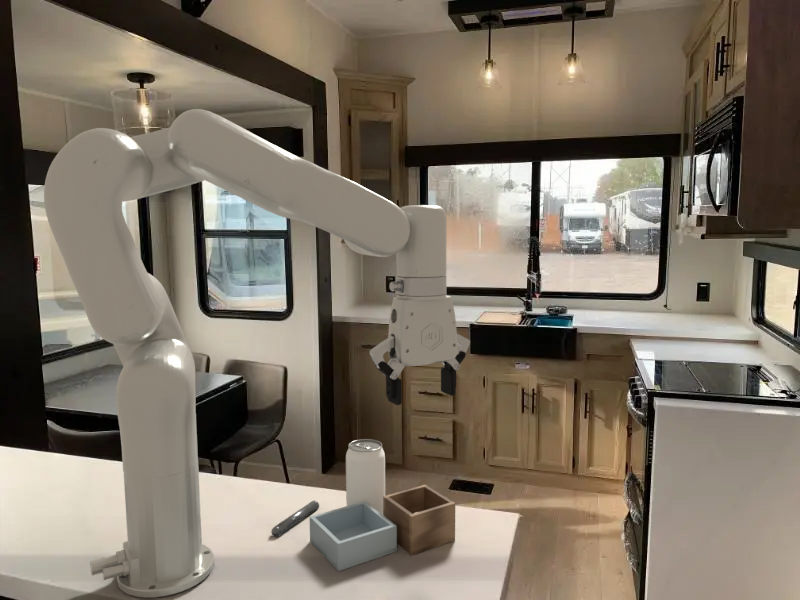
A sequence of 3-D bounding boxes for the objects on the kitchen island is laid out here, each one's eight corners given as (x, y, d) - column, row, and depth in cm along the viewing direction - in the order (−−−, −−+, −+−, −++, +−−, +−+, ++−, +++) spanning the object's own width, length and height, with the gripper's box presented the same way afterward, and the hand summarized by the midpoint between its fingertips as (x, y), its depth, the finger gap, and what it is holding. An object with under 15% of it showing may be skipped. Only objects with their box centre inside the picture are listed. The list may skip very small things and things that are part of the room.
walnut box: (411, 555, 88) (411, 516, 88) (383, 532, 95) (383, 496, 94) (455, 540, 93) (455, 503, 92) (425, 519, 99) (425, 484, 99)
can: (368, 527, 97) (367, 455, 96) (338, 515, 101) (337, 446, 99) (393, 512, 102) (392, 443, 101) (363, 501, 106) (363, 435, 104)
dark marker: (277, 539, 94) (277, 529, 93) (269, 537, 94) (269, 527, 94) (320, 509, 104) (320, 500, 104) (313, 507, 104) (313, 498, 104)
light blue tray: (338, 571, 84) (338, 544, 84) (310, 541, 93) (309, 516, 92) (396, 551, 90) (396, 525, 89) (364, 524, 98) (364, 501, 97)
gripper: (382, 293, 84) (384, 413, 86) (482, 286, 92) (481, 395, 94) (359, 289, 90) (361, 400, 92) (454, 283, 99) (454, 385, 101)
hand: (422, 398), depth 93 cm, fingers open, 9 cm apart
